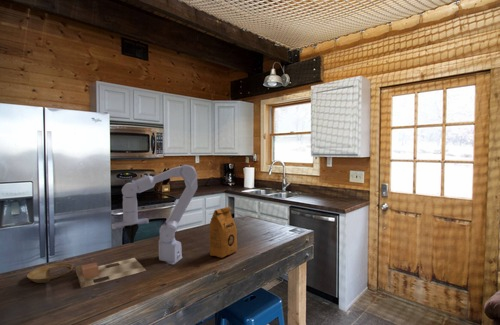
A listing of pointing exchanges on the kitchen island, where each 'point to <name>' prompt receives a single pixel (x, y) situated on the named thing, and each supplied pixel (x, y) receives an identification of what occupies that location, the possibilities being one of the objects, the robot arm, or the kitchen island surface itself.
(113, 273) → the box
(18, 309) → the kitchen island surface
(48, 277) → the plant saucer
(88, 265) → the rust block
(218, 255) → the coffee package
